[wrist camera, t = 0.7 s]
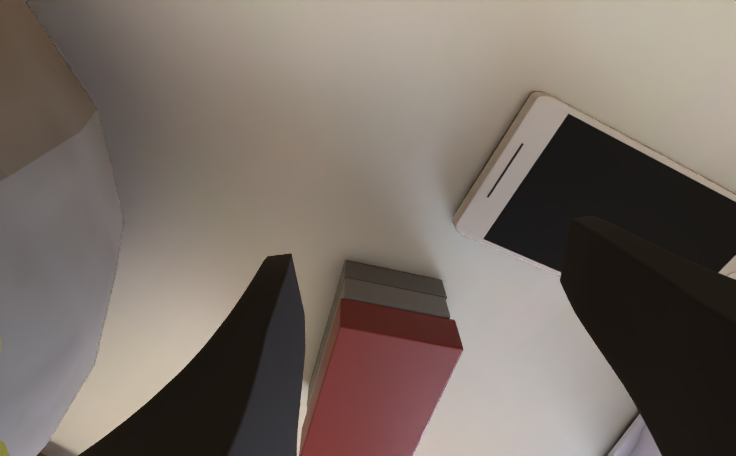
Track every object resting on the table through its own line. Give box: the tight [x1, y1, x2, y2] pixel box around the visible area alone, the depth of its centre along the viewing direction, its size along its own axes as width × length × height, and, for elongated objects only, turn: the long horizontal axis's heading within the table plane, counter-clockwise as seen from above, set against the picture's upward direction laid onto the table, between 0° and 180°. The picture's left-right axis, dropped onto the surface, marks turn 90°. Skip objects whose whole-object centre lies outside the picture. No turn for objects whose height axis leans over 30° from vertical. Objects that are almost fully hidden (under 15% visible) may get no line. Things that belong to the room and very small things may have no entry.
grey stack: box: [307, 261, 450, 411], centre depth 25 cm, size 9×5×3 cm, turn 165°
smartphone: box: [452, 91, 736, 280], centre depth 23 cm, size 7×15×1 cm, turn 64°
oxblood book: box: [299, 298, 463, 456], centre depth 23 cm, size 9×6×2 cm, turn 165°
